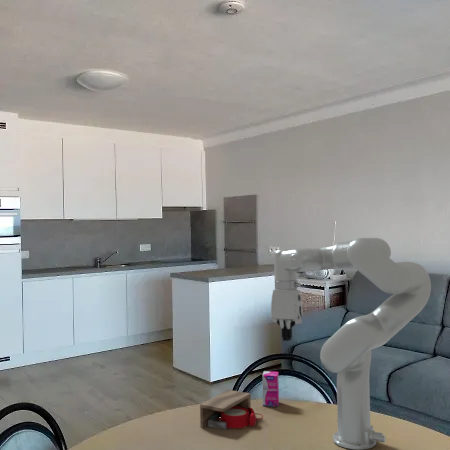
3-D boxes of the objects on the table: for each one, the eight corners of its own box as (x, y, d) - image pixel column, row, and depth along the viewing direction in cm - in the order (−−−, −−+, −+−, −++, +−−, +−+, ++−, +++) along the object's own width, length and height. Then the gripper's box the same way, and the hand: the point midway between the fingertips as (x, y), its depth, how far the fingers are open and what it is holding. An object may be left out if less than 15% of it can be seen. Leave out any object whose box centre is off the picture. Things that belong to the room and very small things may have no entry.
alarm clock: (215, 407, 166) (257, 396, 167) (219, 425, 166) (261, 414, 167) (216, 418, 156) (261, 406, 157) (221, 437, 156) (265, 425, 157)
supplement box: (262, 406, 177) (261, 375, 178) (263, 401, 183) (263, 370, 184) (278, 407, 176) (277, 375, 177) (279, 401, 182) (278, 371, 183)
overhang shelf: (250, 415, 168) (250, 393, 169) (223, 432, 153) (223, 408, 153) (228, 411, 173) (228, 389, 173) (200, 427, 158) (200, 404, 158)
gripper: (310, 285, 163) (311, 340, 163) (270, 284, 171) (271, 336, 170) (302, 287, 157) (303, 344, 156) (261, 286, 165) (262, 340, 164)
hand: (287, 340), depth 163 cm, fingers closed
